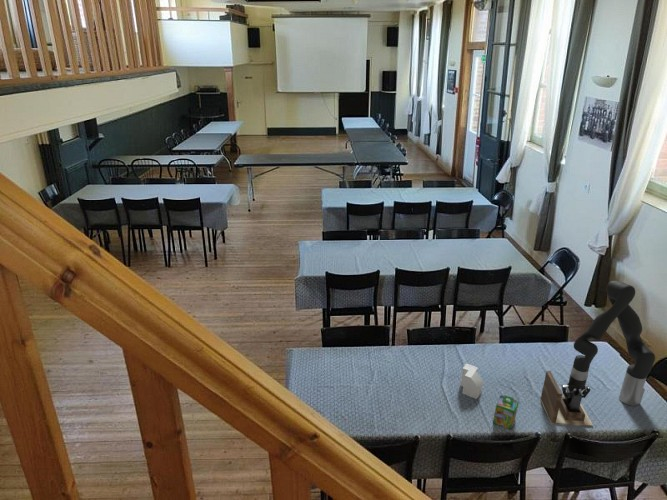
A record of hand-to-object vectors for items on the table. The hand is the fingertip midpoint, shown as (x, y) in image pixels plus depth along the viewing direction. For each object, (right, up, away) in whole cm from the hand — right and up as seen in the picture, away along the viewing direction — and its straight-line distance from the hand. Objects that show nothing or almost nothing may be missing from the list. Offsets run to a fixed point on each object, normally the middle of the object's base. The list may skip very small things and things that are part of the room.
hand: (572, 402), depth 247 cm
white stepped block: (-47, +1, +19) cm, 51 cm away
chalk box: (-36, -9, -3) cm, 37 cm away
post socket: (-3, -6, +3) cm, 7 cm away
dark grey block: (0, -4, +2) cm, 4 cm away
